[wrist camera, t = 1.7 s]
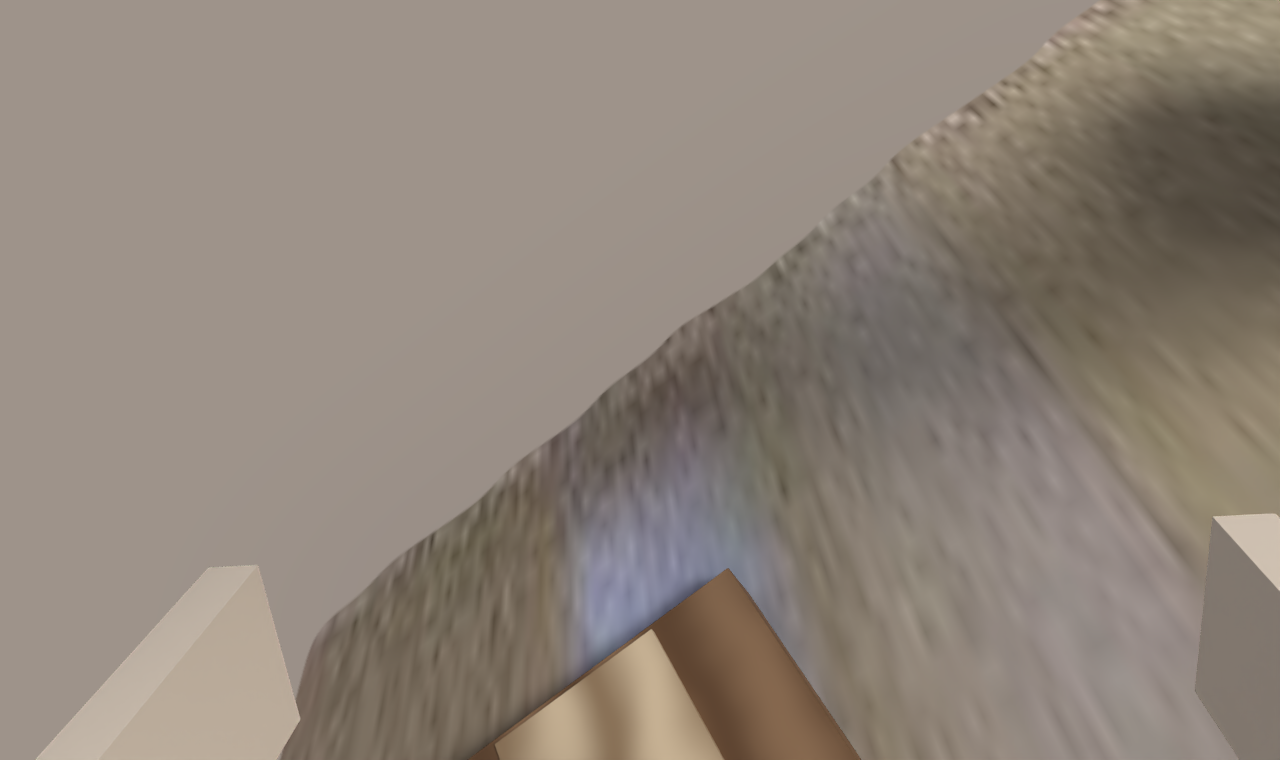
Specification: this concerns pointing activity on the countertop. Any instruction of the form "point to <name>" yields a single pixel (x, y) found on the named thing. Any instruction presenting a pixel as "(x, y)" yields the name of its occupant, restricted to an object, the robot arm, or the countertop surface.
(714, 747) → the plinth
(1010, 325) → the countertop surface
